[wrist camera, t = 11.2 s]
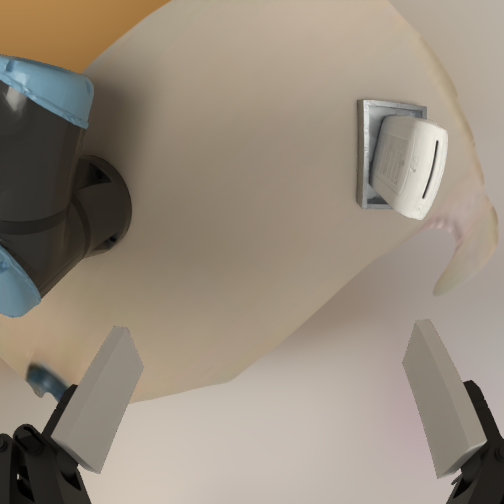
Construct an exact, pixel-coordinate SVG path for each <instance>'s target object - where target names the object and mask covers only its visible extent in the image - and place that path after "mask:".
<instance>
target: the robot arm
mask: <svg viewBox="0 0 504 504" xmlns="http://www.w3.org/2000/svg"><path fill="white" fill-rule="evenodd" d="M93 97H94V86H93V84H92V82H91V81H90V79H88V78H87V77H86V76H84V75H81V74H79V73H76V72H73V71H70V70H67V69H64V68H61V67H57V66H54V65H50V64H46V63H42V62H38V61H34V60H29V59H25V58H20V57H14V56H7V55H1V54H0V313H1V314H3V315H5V316H8V317H12V318H13V317H21V316H23V315H25V314H26V313H27V312H28V311H30V310H31V309H32V308H33V307H34V306H36V305H38V304H39V303H40V302H41V299H42V298H43V297H44V296H45V295H46V294H47V293H48V292H49V291H50V290H51V289H52V288H53V287H54V286H55V285H56V284H57V283H58V282H59V281H60V280H61V279H62V278H63V277H64V276H65V275H66V274H67V273H68V272H69V271H70V270H71V269H72V268H73V267H74V266H75V265H76V264H77V263H78V262H80V261H81V260H82V259H84V258H87V257H91V256H94V255H98V254H101V253H104V252H106V251H108V250H110V249H111V248H113V247H114V246H115V245H116V244H117V243H118V242H119V241H120V240H121V239H122V238H123V237H124V235H125V234H126V232H127V230H128V227H129V224H130V220H131V200H130V196H129V192H128V189H127V187H126V184H125V182H124V181H123V179H122V177H121V176H120V174H119V173H118V172H117V171H116V169H115V168H114V167H113V166H111V165H110V164H109V163H108V162H106V161H104V160H103V159H100V158H98V157H95V156H80V152H81V147H82V143H83V139H84V135H85V132H86V129H88V126H89V123H88V118H89V113H90V109H91V105H92V101H93ZM79 156H80V157H79ZM402 364H403V366H404V369H405V372H406V375H407V377H408V380H409V383H410V386H411V389H412V392H413V395H414V398H415V401H416V404H417V407H418V411H419V414H420V417H421V420H422V423H423V427H424V430H425V434H426V437H427V441H428V444H429V448H430V452H431V455H432V459H433V463H434V467H435V471H436V475H437V479H439V478H443V477H446V476H449V475H452V474H454V473H455V472H456V471H457V470H459V468H461V472H462V474H460V475H459V476H458V477H457V478H456V479H455V480H454V481H453V482H452V483H451V484H452V485H454V484H455V483H456V482H457V483H456V485H455V487H454V489H453V491H452V493H451V495H450V497H449V499H448V501H447V503H446V504H504V439H503V438H502V437H501V435H500V433H499V430H498V428H497V425H496V423H495V421H494V418H493V416H492V414H491V411H490V409H489V408H488V405H487V403H486V400H484V396H483V394H482V392H481V390H480V388H479V387H478V386H477V385H476V384H475V383H474V382H473V381H472V380H470V381H466V382H462V380H461V378H460V376H459V374H458V371H457V369H456V367H455V366H454V363H453V361H452V359H451V357H450V355H449V354H448V351H447V349H446V348H445V346H444V344H443V342H442V340H441V338H440V336H439V334H438V333H437V331H436V329H435V327H434V325H433V324H432V322H431V320H430V319H424V320H417V321H415V324H414V328H413V331H412V334H411V338H410V341H409V344H408V347H407V350H406V353H405V356H404V359H403V362H402ZM143 368H144V365H143V363H142V361H141V359H140V356H139V354H138V352H137V349H136V347H135V345H134V342H133V340H132V338H131V335H130V333H129V330H128V328H127V327H119V326H114V327H113V329H112V330H111V332H110V333H109V335H108V337H107V338H106V340H105V341H104V343H103V345H102V346H101V348H100V350H99V351H98V353H97V355H96V356H95V358H94V360H93V361H92V363H91V365H90V366H89V368H88V370H87V371H86V373H85V375H84V377H83V378H82V380H81V382H80V383H79V385H75V384H73V385H71V386H70V387H69V388H68V389H67V390H66V391H65V392H64V394H63V396H62V397H61V399H60V402H59V403H58V404H57V407H56V409H55V410H54V412H53V414H52V415H51V417H50V419H49V421H48V423H47V425H46V426H45V428H44V430H43V432H42V433H41V434H40V433H39V432H38V431H37V430H36V429H35V428H34V427H33V426H32V425H30V424H23V425H21V426H19V427H18V428H17V429H16V430H15V432H14V434H13V439H12V438H11V437H10V436H9V435H7V434H4V433H3V434H0V504H91V502H90V499H89V496H88V494H87V491H86V489H85V486H84V483H83V480H82V478H81V475H80V472H79V470H78V469H77V466H78V464H80V465H81V466H82V467H83V468H85V469H86V470H88V471H91V472H94V473H97V474H100V473H101V470H102V467H103V465H104V462H105V460H106V457H107V454H108V452H109V449H110V447H111V444H112V442H113V439H114V437H115V434H116V432H117V429H118V427H119V424H120V422H121V420H122V417H123V415H124V412H125V410H126V408H127V405H128V403H129V400H130V398H131V396H132V393H133V391H134V389H135V386H136V384H137V382H138V380H139V377H140V375H141V373H142V370H143ZM17 474H19V479H17Z"/></svg>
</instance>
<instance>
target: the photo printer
mask: <svg viewBox="0 0 504 504" xmlns="http://www.w3.org/2000/svg"><path fill="white" fill-rule="evenodd" d="M447 148H448V135H447V131H446V130H444V129H442V128H440V126H439V125H437V124H436V123H435V122H433V121H431V120H427V119H421V118H415V117H409V116H402V115H386V116H385V118H384V120H383V123H382V126H381V130H380V133H379V138H378V142H377V146H376V150H375V154H374V158H373V163H372V167H371V172H370V178H369V184H370V186H371V187H372V188H373V189H374V190H375V191H376V192H377V193H378V194H379V195H380V196H381V197H382V198H383V199H384V200H385V201H386V202H387V203H388V204H389V205H390V206H391V207H392V208H393V209H394V210H396V211H397V212H399V213H400V214H402V215H404V216H406V217H409V218H415V219H418V220H421V219H423V218H424V216H425V215H426V214H427V212H428V211H429V209H430V207H431V205H432V203H433V201H434V199H435V196H436V194H437V191H438V188H439V185H440V182H441V179H442V175H443V172H444V167H445V162H446V157H447Z"/></svg>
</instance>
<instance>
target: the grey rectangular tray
mask: <svg viewBox="0 0 504 504" xmlns="http://www.w3.org/2000/svg"><path fill="white" fill-rule="evenodd" d="M357 107H358V176H357V201H356V202H357V203H358V204H359V206H360V207H361V208H362V209H393V208H392V207H391V206H390V205H389V204H388V203H387V202H386V201H385V200H384V199H383V198H382V197H381V196H380V195H379V194H378V193H377V192H376V191H375V190H374V189H373V188H372V187H371V186H370V184H369V178H370V172H371V167H372V163H373V158H374V154H375V150H376V146H377V142H378V138H379V133H380V130H381V126H382V123H383V120H384V118H385V116H386V115H402V116H409V117H415V118H421V119H427V108H426V107H425V106H418V105H411V104H403V103H394V102H384V101H373V100H357Z"/></svg>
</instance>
